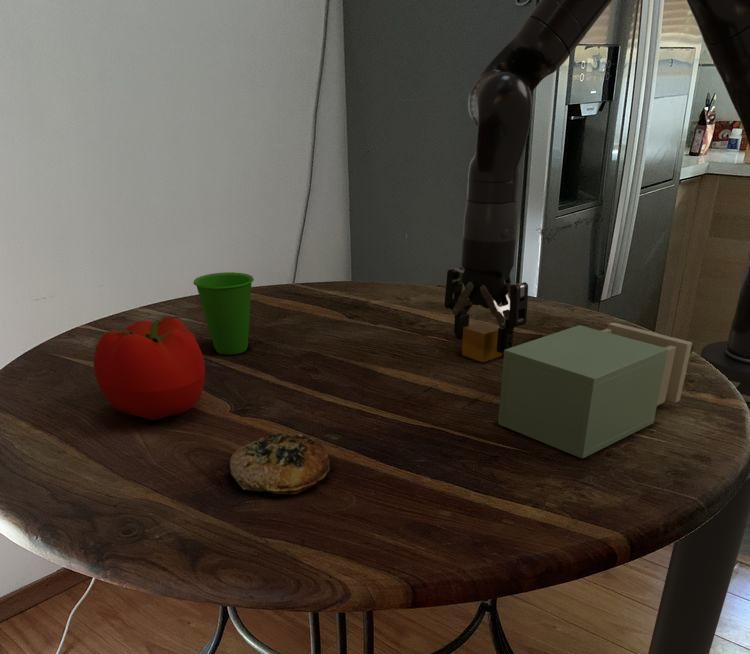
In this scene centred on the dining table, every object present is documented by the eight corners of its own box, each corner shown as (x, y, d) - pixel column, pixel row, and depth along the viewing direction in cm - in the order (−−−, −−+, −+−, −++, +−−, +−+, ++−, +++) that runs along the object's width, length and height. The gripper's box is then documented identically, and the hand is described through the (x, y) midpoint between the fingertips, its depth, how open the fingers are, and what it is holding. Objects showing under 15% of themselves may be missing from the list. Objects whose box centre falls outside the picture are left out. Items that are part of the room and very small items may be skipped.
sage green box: (570, 394, 99) (579, 324, 94) (653, 423, 91) (668, 348, 86) (497, 424, 91) (503, 349, 86) (582, 459, 83) (594, 378, 78)
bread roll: (334, 448, 85) (330, 411, 82) (327, 508, 76) (323, 469, 73) (240, 451, 86) (232, 414, 83) (222, 511, 77) (213, 472, 74)
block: (480, 349, 116) (482, 321, 114) (502, 356, 113) (504, 327, 111) (461, 355, 113) (463, 327, 111) (482, 362, 110) (484, 334, 108)
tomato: (152, 442, 88) (135, 347, 82) (82, 414, 95) (62, 325, 89) (234, 406, 97) (224, 318, 91) (164, 383, 104) (151, 301, 98)
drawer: (630, 366, 106) (639, 313, 102) (704, 388, 98) (717, 331, 94) (543, 402, 95) (549, 343, 91) (619, 430, 87) (630, 367, 83)
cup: (270, 350, 116) (264, 279, 111) (219, 363, 111) (210, 290, 106) (242, 336, 122) (235, 269, 117) (192, 348, 118) (182, 278, 112)
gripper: (546, 238, 101) (534, 351, 110) (470, 224, 111) (464, 329, 119) (510, 245, 97) (500, 362, 105) (435, 230, 107) (431, 339, 115)
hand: (481, 344), depth 112 cm, fingers open, 8 cm apart
